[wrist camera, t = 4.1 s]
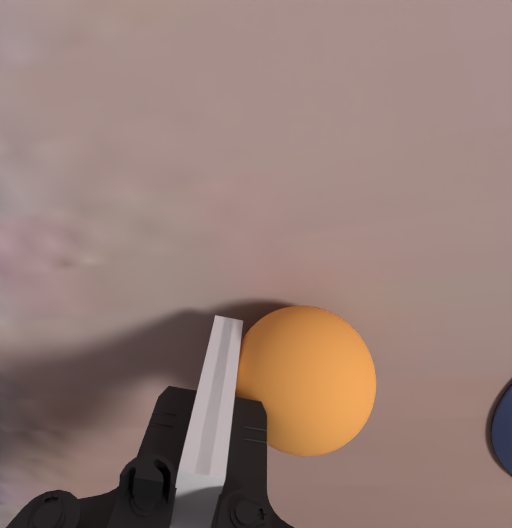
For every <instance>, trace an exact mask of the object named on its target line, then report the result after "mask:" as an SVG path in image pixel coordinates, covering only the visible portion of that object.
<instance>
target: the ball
mask: <svg viewBox="0 0 512 528" xmlns="http://www.w3.org/2000/svg"><path fill="white" fill-rule="evenodd" d="M375 394H376V375H375V369H374V364H373V361H372V358H371V355H370V352H369V350H368V348H367V346H366V345H365V343H364V341H363V339H362V338H361V337H360V336H359V334H358V333H357V332H356V331H355V330H354V328H353V327H351V326H350V325H349V324H348V323H347V322H346V321H344V320H343V319H342V318H340V317H338V316H337V315H335V314H333V313H331V312H329V311H326V310H323V309H320V308H316V307H311V306H291V307H286V308H282V309H279V310H276V311H274V312H271V313H269V314H268V315H266V316H264V317H263V318H261V319H260V320H259V321H258V322H256V323H255V324H254V325H253V326H252V327H251V328H250V329H249V331H248V332H247V333H246V334H245V336H244V338H243V339H242V341H241V345H240V353H239V362H238V371H237V380H236V389H235V397H239V398H244V399H250V400H256V401H261V402H262V404H263V406H264V409H265V411H266V413H267V444H268V445H269V446H271V447H273V448H275V449H277V450H279V451H281V452H284V453H288V454H292V455H297V456H316V455H322V454H326V453H329V452H332V451H334V450H337V449H338V448H340V447H342V446H343V445H345V444H346V443H348V442H349V441H350V440H352V439H353V438H354V437H355V436H356V435H357V434H358V433H359V431H360V430H361V429H362V427H363V426H364V424H365V423H366V421H367V419H368V417H369V415H370V413H371V410H372V407H373V404H374V399H375Z"/></svg>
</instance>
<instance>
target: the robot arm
mask: <svg viewBox="0 0 512 528" xmlns="http://www.w3.org/2000/svg"><path fill="white" fill-rule="evenodd" d="M242 327H243V321H242V320H237V319H232V318H227V317H221V316H216V315H215V319H214V323H213V328H212V332H211V336H210V340H209V344H208V348H207V353H206V357H205V361H204V365H203V369H202V373H201V378H200V382H199V386H198V390H197V391H194V390H189V389H183V388H178V387H172V386H168V387H167V388H166V390H165V391H164V392H163V393H162V394H161V395H160V396H159V397H158V400H157V402H156V405H155V408H154V411H153V413H152V416H151V419H150V422H149V425H148V427H147V430H146V433H145V436H144V438H143V441H142V444H141V447H140V449H139V452H138V455H137V457H136V458H134V459H133V460H132V461H130V462H129V463H128V464H127V465H126V466H125V468H124V469H123V471H122V472H121V474H120V482H119V486H118V487H117V488H116V489H114V490H112V491H110V492H108V493H105V494H102V495H98V496H93V497H87V498H82V499H77V498H76V497H75V496H74V495H72V494H71V493H70V492H67V491H62V490H55V491H49V492H45V493H43V494H41V495H39V496H37V497H35V498H34V499H33V500H31V501H30V502H29V503H28V504H27V505H26V506H25V507H24V508H23V509H22V510H21V511H20V512H19V513H18V514H17V516H16V517H15V518H14V519H13V520H12V521H11V522H10V524H9V525H8V526H7V527H6V528H294V527H292V526H290V525H289V524H287V523H286V522H284V521H283V520H281V519H280V518H279V517H278V515H277V514H276V513H275V512H274V510H273V509H272V507H271V505H270V503H269V500H268V496H267V413H266V411H265V409H264V406H263V404H262V402H261V401H256V400H250V399H244V398H239V397H235V389H236V380H237V371H238V362H239V353H240V345H241V336H242Z"/></svg>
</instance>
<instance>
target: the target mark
mask: <svg viewBox="0 0 512 528" xmlns="http://www.w3.org/2000/svg"><path fill="white" fill-rule="evenodd" d="M491 435H492V443H493V447H494V450H495V452H496V454H497V456H498V458H499V460H500V461H501V463H502V464H503V466H504V467H505V468H506V469H507V470H508V472H510V473H511V474H512V385H511V386H510V387H509V389H508V390H507V391H506V393H505V394H504V396H503V397H502V399H501V401H500V403H499V405H498V407H497V409H496V411H495V415H494V418H493V421H492V429H491Z"/></svg>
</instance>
